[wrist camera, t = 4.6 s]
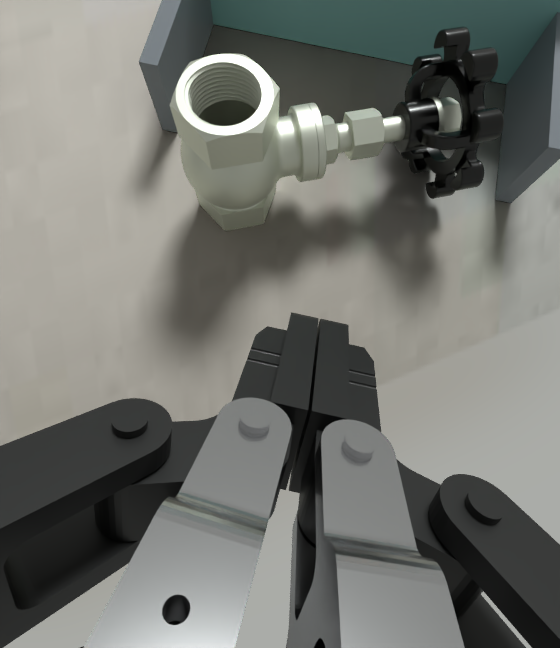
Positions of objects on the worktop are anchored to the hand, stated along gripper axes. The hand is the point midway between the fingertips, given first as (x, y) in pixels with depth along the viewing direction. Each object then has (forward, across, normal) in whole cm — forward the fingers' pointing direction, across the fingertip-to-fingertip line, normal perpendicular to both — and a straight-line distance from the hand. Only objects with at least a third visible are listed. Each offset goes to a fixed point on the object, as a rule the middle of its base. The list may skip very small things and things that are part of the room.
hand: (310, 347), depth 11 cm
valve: (+12, +1, -1) cm, 12 cm away
